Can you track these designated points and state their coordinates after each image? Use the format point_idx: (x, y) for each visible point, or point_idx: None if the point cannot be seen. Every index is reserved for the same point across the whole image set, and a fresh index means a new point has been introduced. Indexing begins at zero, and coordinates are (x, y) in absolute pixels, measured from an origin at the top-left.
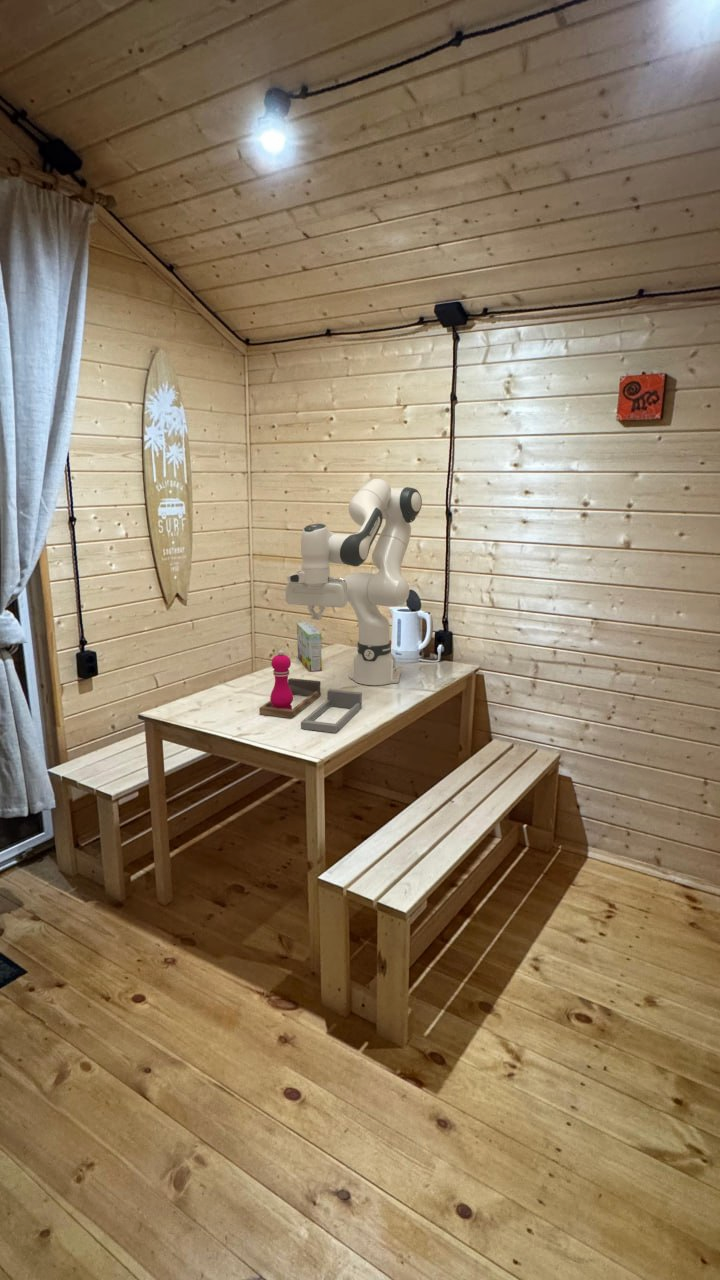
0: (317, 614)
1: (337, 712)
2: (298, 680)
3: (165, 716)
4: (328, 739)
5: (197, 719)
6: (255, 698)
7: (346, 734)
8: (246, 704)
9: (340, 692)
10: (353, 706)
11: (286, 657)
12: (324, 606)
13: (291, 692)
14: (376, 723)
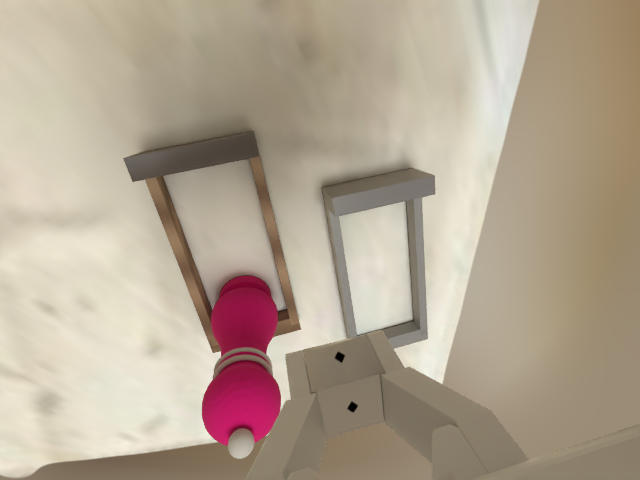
0: (380, 421)
1: (369, 229)
2: (174, 168)
3: (36, 458)
4: (418, 355)
5: (117, 429)
6: (95, 257)
7: (439, 321)
8: (121, 308)
9: (376, 207)
10: (415, 218)
11: (269, 421)
12: (514, 456)
13: (272, 317)
14: (474, 242)
